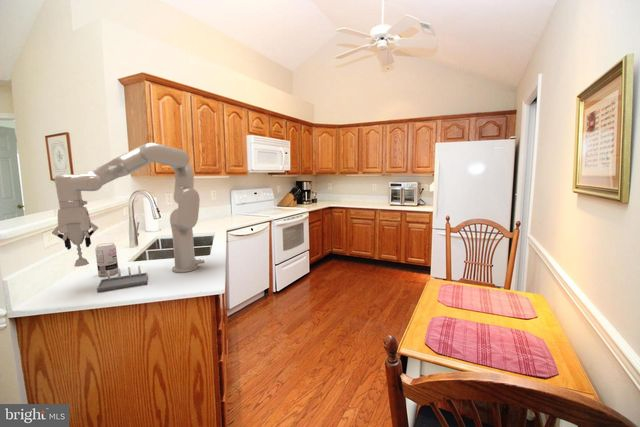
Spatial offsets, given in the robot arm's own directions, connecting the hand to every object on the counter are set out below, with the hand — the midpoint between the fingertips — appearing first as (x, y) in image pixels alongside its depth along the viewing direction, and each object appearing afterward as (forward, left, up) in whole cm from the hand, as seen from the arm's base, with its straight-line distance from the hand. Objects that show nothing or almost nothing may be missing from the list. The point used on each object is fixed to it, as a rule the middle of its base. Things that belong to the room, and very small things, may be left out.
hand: (78, 247), depth 124 cm
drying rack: (-14, 0, -19) cm, 24 cm away
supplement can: (-6, -20, -19) cm, 28 cm away
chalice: (0, 0, -8) cm, 8 cm away
